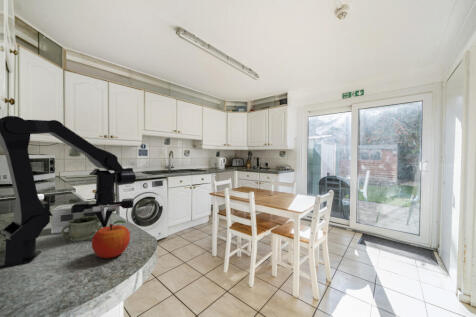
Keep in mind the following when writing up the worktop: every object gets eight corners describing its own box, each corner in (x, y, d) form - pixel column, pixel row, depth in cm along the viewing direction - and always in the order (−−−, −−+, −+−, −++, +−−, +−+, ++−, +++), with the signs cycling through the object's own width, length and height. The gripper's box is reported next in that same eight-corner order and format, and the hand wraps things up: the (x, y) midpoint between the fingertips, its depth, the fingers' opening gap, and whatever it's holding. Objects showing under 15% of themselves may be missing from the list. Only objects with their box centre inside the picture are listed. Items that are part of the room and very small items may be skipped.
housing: (102, 227, 78) (103, 206, 78) (50, 234, 70) (51, 209, 70) (106, 221, 85) (106, 202, 85) (59, 227, 78) (60, 205, 78)
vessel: (100, 229, 76) (100, 213, 76) (106, 235, 70) (107, 218, 70) (59, 238, 67) (60, 220, 67) (63, 245, 61) (63, 226, 61)
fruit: (97, 250, 59) (98, 217, 59) (132, 245, 62) (133, 215, 62) (85, 266, 50) (86, 228, 50) (126, 259, 53) (127, 224, 53)
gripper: (134, 183, 82) (134, 218, 82) (80, 185, 74) (80, 224, 74) (133, 186, 72) (132, 226, 72) (70, 189, 64) (69, 235, 64)
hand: (104, 227), depth 71 cm, fingers closed
